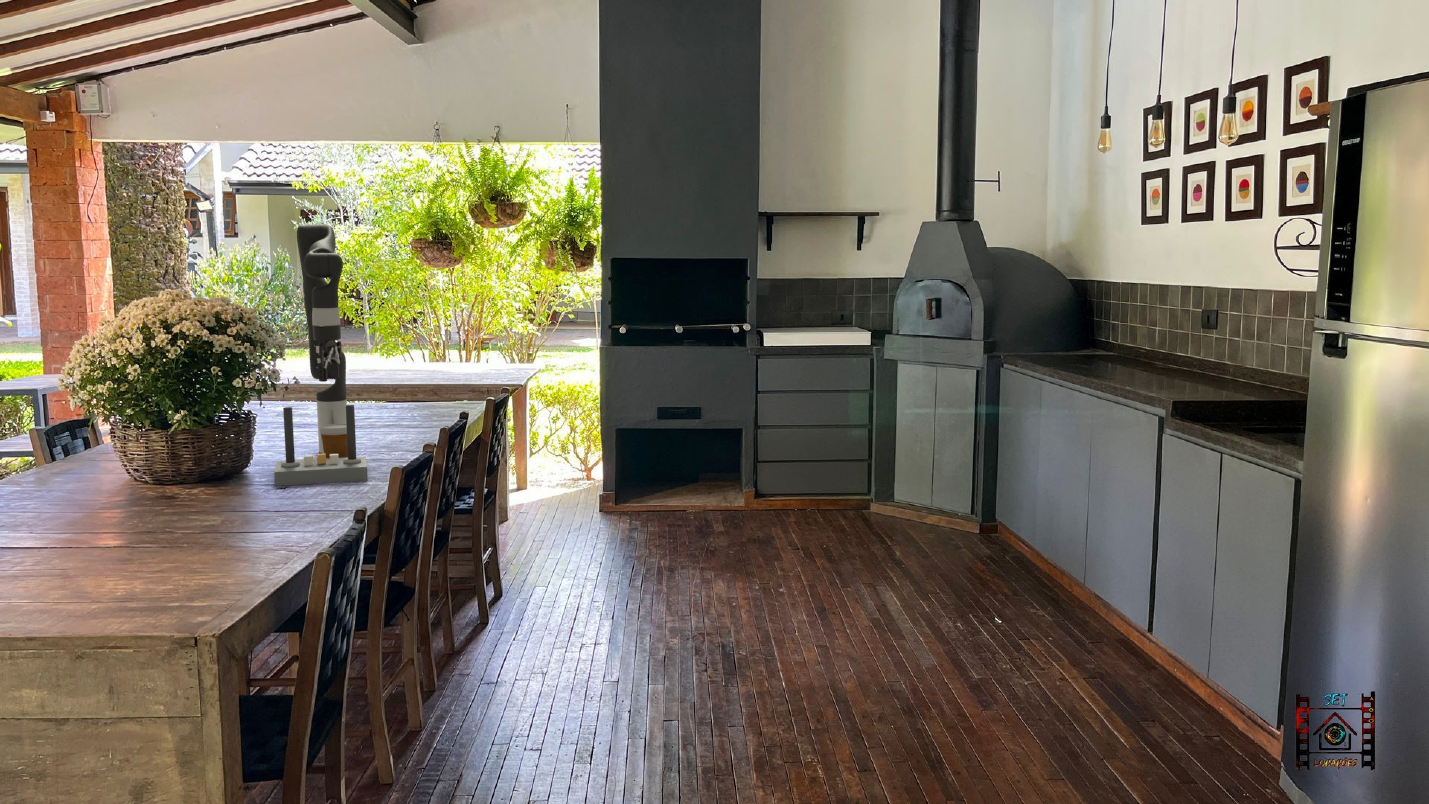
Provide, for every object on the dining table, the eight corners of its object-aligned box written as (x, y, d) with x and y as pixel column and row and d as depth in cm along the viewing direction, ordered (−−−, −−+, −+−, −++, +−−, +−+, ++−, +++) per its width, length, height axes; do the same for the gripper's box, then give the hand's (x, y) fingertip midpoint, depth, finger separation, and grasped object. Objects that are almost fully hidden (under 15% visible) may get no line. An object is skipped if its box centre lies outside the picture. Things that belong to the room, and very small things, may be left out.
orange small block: (317, 462, 316) (316, 453, 316) (326, 462, 317) (325, 453, 316) (317, 463, 314) (316, 455, 314) (325, 463, 315) (325, 454, 315)
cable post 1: (281, 464, 314) (278, 406, 312) (300, 463, 316) (297, 406, 313) (280, 467, 310) (277, 409, 307) (299, 466, 311) (296, 408, 309)
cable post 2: (343, 461, 320) (340, 404, 317) (361, 460, 321) (358, 403, 319) (343, 464, 315) (340, 406, 313) (361, 463, 317) (359, 406, 314)
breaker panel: (277, 474, 320) (276, 452, 319) (366, 469, 328) (365, 447, 327) (274, 485, 305) (273, 463, 304) (367, 480, 313) (366, 458, 312)
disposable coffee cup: (346, 467, 330) (345, 428, 329) (315, 466, 331) (314, 428, 329) (357, 461, 340) (355, 423, 338) (327, 460, 340) (325, 423, 338)
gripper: (323, 320, 316) (326, 375, 319) (302, 325, 302) (305, 382, 305) (348, 321, 316) (351, 376, 318) (329, 325, 301) (331, 383, 304)
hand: (329, 379), depth 311 cm, fingers open, 8 cm apart
